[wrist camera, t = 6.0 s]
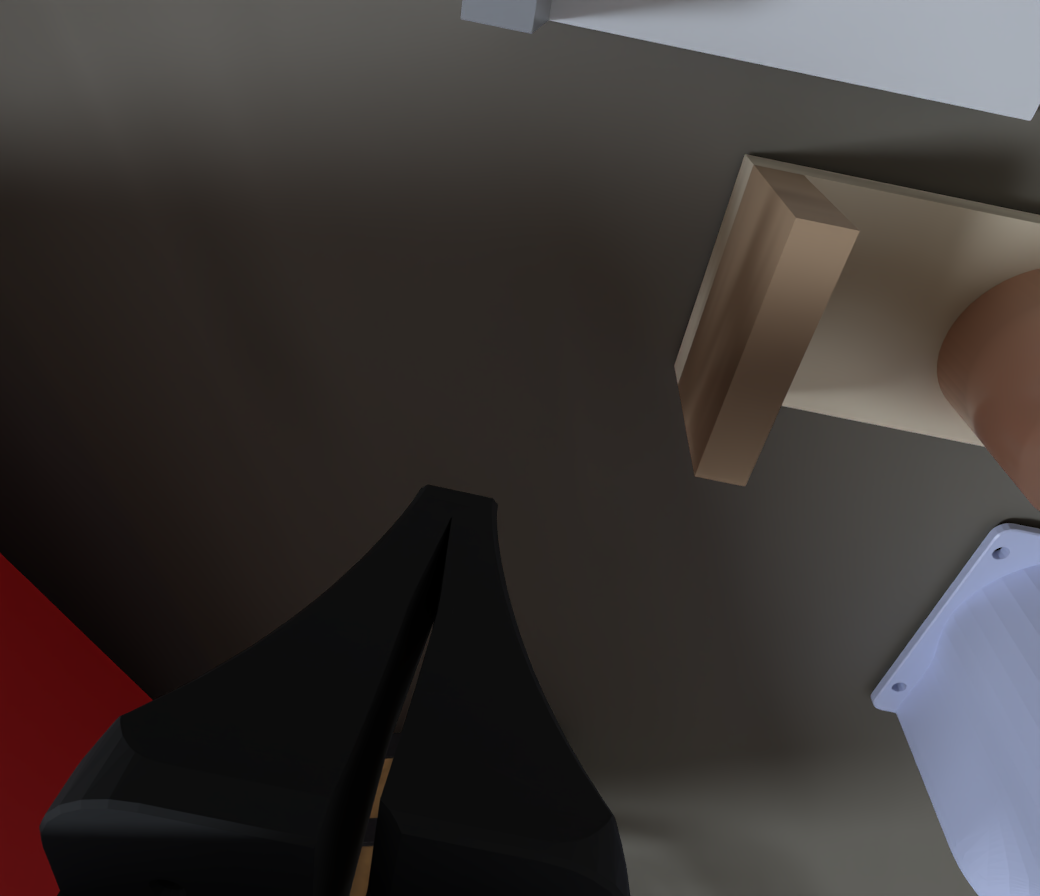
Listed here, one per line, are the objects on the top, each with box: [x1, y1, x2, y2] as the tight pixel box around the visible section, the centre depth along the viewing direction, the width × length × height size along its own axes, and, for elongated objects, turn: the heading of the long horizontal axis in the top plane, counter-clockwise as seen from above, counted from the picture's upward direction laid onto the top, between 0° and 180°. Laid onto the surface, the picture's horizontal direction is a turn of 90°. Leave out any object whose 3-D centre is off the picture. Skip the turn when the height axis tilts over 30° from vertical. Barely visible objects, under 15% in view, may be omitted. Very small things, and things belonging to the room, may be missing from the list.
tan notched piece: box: [674, 154, 1040, 486], centre depth 17 cm, size 6×12×6 cm, turn 80°
